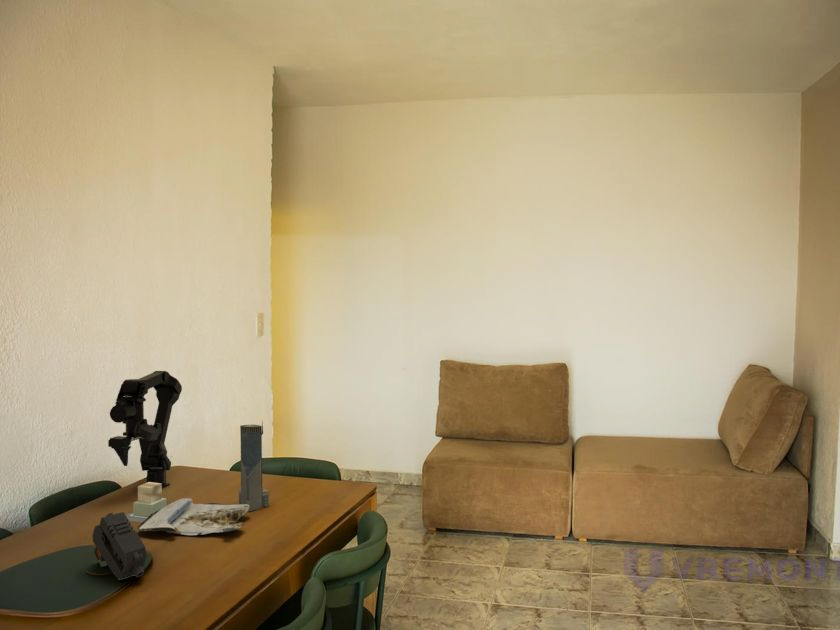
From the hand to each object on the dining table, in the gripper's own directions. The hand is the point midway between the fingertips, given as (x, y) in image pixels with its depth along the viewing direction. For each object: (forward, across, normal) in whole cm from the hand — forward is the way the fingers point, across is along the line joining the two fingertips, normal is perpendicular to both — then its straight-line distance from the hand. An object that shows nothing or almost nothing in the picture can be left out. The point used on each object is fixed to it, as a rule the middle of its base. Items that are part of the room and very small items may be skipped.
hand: (135, 462), depth 235 cm
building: (+13, +5, -42) cm, 44 cm away
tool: (+13, -50, -38) cm, 64 cm away
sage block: (+12, -11, -15) cm, 22 cm away
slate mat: (+12, -11, -15) cm, 22 cm away
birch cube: (+8, -11, -15) cm, 20 cm away
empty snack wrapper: (+13, -16, -37) cm, 42 cm away
